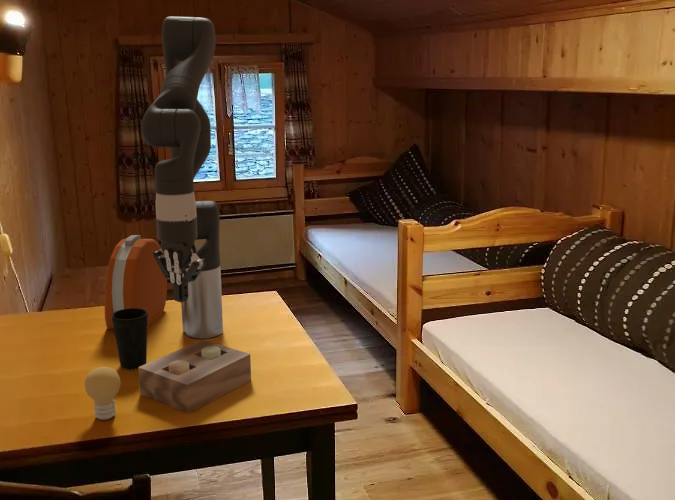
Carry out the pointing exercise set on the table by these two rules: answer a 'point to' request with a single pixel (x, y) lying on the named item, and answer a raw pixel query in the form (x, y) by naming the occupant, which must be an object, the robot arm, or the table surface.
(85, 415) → the table surface
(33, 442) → the table surface
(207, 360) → the socket block
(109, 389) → the light bulb
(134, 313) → the cup
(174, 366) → the peg birch
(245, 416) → the table surface
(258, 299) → the table surface
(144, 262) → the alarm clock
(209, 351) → the peg sage
